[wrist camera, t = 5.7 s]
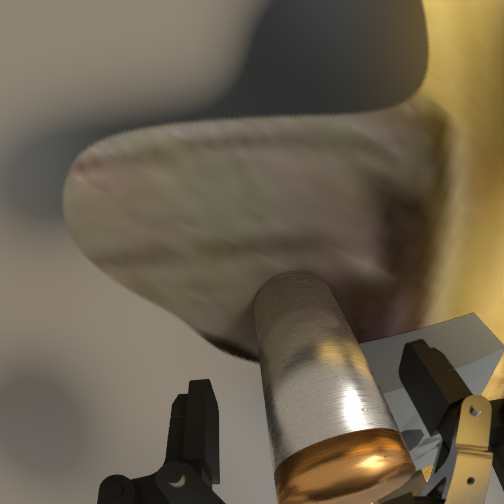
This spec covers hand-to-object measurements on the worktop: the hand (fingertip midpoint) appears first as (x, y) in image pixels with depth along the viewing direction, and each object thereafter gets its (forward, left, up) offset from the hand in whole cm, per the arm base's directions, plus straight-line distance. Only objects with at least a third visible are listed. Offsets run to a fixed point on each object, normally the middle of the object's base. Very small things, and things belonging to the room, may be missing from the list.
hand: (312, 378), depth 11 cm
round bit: (0, 0, -5) cm, 5 cm away
